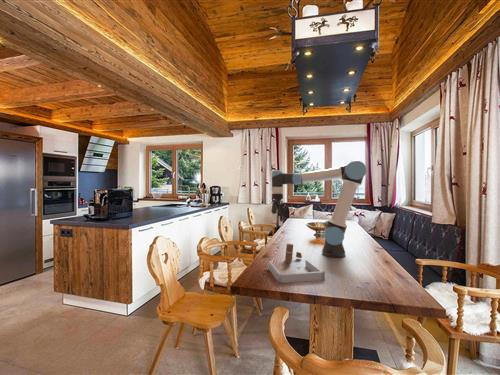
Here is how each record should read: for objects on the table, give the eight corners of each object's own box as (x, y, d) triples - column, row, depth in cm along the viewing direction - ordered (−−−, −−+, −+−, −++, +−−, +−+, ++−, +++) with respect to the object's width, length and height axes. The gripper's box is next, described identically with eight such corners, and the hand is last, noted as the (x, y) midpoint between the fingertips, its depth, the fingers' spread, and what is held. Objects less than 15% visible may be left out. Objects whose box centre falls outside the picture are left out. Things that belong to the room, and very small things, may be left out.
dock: (307, 266, 149) (307, 259, 149) (324, 280, 128) (324, 272, 128) (268, 268, 145) (268, 261, 145) (279, 283, 124) (279, 275, 124)
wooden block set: (292, 267, 148) (293, 250, 147) (278, 263, 152) (280, 247, 152) (301, 259, 164) (303, 244, 163) (289, 256, 168) (290, 241, 167)
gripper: (267, 192, 183) (267, 221, 183) (277, 193, 158) (278, 227, 159) (276, 192, 184) (277, 221, 185) (289, 193, 160) (289, 227, 160)
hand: (277, 224), depth 172 cm, fingers open, 13 cm apart
